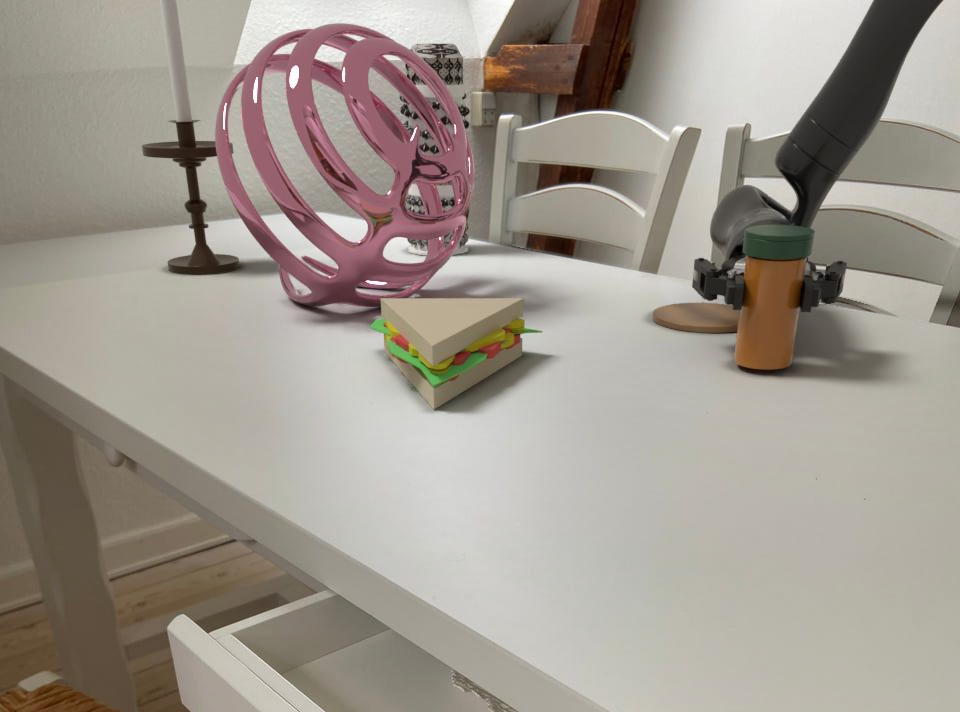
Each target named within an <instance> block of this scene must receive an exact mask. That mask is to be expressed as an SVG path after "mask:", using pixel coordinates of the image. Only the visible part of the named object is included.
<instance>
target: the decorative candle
mask: <svg viewBox="0 0 960 712" xmlns="http://www.w3.org/2000/svg"><path fill="white" fill-rule="evenodd" d="M409 49H410V50H411V51H413V52H414V53H416V54H417V55H418V56H419V57H421V58H422V59H423V60H424V61H425V62H426V63H427V64H428V65H430V67H431V68H432V69H433V70H434V71H435V72H436V73H437V74H438V75H439V77H440V78H441V79H442V81H443V82H444V83H445V85H446V86H447V88H448V89H449V91H450V93H451V94H452V96H453V98H454V100H455V102H456V104H457V106H458V109H459V111H460V114H461V117H462V120H463V123H464V127H465V129H466V130H467V129H468V128H469V127H470V121H468V120H467V119H466V117H467V116H468V115H469V114H470V108H468V106H466V105H463V101H464V100H465V99H466V98H467V94H466V93H465V84H464V59H466V57H464V56H463V55H462V53H461V52H460V50H459V48H458V46H457V45H456V44H454V43H414V44H413V45H412V46H411V47H410V48H409ZM404 69H405V71H404V72H405V75H406V76H407V77H408V78H409V79H410V80H411V82H412V83H413V84H414V85H415V86H416V87H417V88H418V89H419V91H420V92H421V93H422V94H423V95H424V97H425V98H426V99H427V101H428V102H429V103H430V105H431V106H432V108H433V109H434V111H435V112H436V114H437V115H438V117H439V118H440V120H441V122H442V123H443V124H444V125H445V126H446V128H447V129H448V130H449V132H450V133H451V135H452V136H453V137H454V130H453V125H452V123H451V121H450V119H449V117H448V115H447V114H446V112H445V110H444V108H443V107H442V105H441V104H440V102H439V101H438V99H437V98H436V96H435V95H434V94H433V92H432V91H431V90H430V88H429V87H428V86H427V85H426V84H425V82H424V81H423V80H422V79H421V78H420V77H419V76H418V75H417V74H416V73H415V72H414V71H413V70H412V69H411V68H410V67H409V66H408V65H407V64H406V63H405V62H404ZM399 100H400V101H401V102H402V103H404V104H403V105H401V106H400V110H399V112H400V114H401V115H403V116H404V117H406V118H407V119H405V121H404V122H402V124H403V125H404V126H405V128H406V129H407V130H408V132H409V133H410V135H411V134H412V132H413V129H414V127H415V125H416V124H418V125H419V128H420V136H419V149H420V150H421V152H422V154H423V155H427V156H440V155H441V153H440V151H439V149H438V147H437V145H436V143H435V141H434V139H433V137H432V135H431V134H430V132H429V130H428V129H427V127H426V126H425V124H424V123H423V121H422V120H421V118H420V117H419V115H418V114H417V113H416V111H415V110H414V109H413V108H412V106H411V105H410V104H409V103H408V102H407V100H406V99H405V98H404V97H403V96H402V95H401V94H400V93H399ZM436 186H437V189H438V192H439V196H440V200H441V204H442V210H443V212H446V211H448V210H450V209H451V208H453V207H454V206H455V200H454V194H453V188H452V184H451V180H450V181H449V182H446V183H443V184H438V185H436ZM406 204H408V205H410V206H409V208H407V209H408V210H409V211H411V212H413V213H418V214H425V215H426V213H425V209H424V205H423V202H422V198H421V195H420V193H419V190H418V187H417V185H416V183H413V184H412V185H411V187H410V188H409V191H408V195H407V197H406ZM468 230H469V223H468V222H467V224H466V227H465V231H464V233H463V236H462V238H461V240H460V243H459V245H458V246H457V248H456V250H455V252H454V253H453V255H452V256H456V255H461V254H465V253H466V252H468V251H469V248H468V245H467V244H466V243H468V242H469V235H468V233H467V231H468ZM453 231H454V230H453ZM453 231H452V232H450V233H449V234H447V235H445V236H444V244H443V250H444V249H445V248H446V246H447V245H448V243H449V241H450V239H451V237H452V234H453ZM406 240H407V242H408V243H409V244H410V246H408V252H409V253H411V254H413V255H419V256H426V255H427V250H428V240H414V239H408V238H406Z"/></svg>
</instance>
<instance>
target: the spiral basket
mask: <svg viewBox="0 0 960 712" xmlns="http://www.w3.org/2000/svg"><path fill="white" fill-rule="evenodd" d="M348 35H351V36H355V37H360V38H363V39H360V40H358V39H356V38H353V37H351V36H348ZM291 44H295V45H294V47H293V49H292V50H291V53H276V52H277V51H279V50H280V49H281V48H283V47H285V46H288V45H291ZM321 46H327V47H329V48H332V49H335V50H338V51H340V52H343V53H345V55H344V58H343V61H342V63H341V69H340V68H338V67H336V66H334V65H332V64H330V63H328V62H325V61H323V60H321V59H317V58H316V55H317V54H318V51H319V50H320V48H321ZM410 49H411V48H408V47H407V46H404V45H403V44H401V43H399V42H397V41H396V40H394V39H392V38H391V37H390V36H387V35H386V34H384V33H381V32H379V31H377V30H375V29H372V28H369V27H366V26H362V25H359V24H355V23H354V24H353V23H345V22H344V23H343V22H342V23H341V22H339V23H338V22H335V23H328V24H323V25H319V26H317V27H315V28H301V29H296V30H292V31H289V32H286V33H284V34H282V35H279V36H277V37H275V38H274V39H272V40H271V41H269V42H268V43H266V44H265V45H264V46H263V47H262V48H261V49H260V50H259V51H258V52H257V53H256V55H255V56H254V57H253V59H252V60H251V62H249V63H248V64H247V65H246V66H244V67H242V69H240V71H238V73H236V74H235V76H234V77H233V78H232V79H231V81H230V83H229V84H228V86H227V87H226V89H225V91H224V93H223V95H222V97H221V100H220V103H219V104H218V105H219V106H218V109H217V114H216V117H215V118H216V120H215V128H214V141H215V145H216V153H217V156H216V159H217V164H218V168H219V172H220V175H221V178H222V181H223V184H224V186H225V189H226V192H227V195H228V197H229V199H230V201H231V203H232V205H233V207H234V209H235V211H236V212H237V214H238V216H239V217H240V219H241V221H242V222H243V224H244V225H245V227H246V229H247V230H248V231H249V233H250V234H251V235H252V237H253V238H254V239H255V241H256V242H257V243H258V244H259V246H260V247H261V248H262V249H263V250H264V252H265V253H266V254H267V255H268V256H269V257H270V258H271V259H272V260H273V261H274V262H275V263H276V264H277V265H278V272H279V273H278V274H279V279H280V283H281V286H282V289H283V291H284V292H285V293H286V294H285V295H287V296H288V298H290V299H291V300H292V301H294V302H296V303H298V304H300V305H303V306H307V307H313V308H314V307H315V308H318V307H324V306H329V305H336V304H337V305H346V306H354V307H360V308H381V298H411V297H412V296H413V295H415V294H416V293H418V292H419V291H420V290H422V288H423V287H425V286H426V285H427V284H428V282H429V281H430V280H431V279H432V278H433V277H434V276H435V275H436V274H437V273H438V272H439V271H440V269H442V268H443V267H444V266H445V265H446V264H447V263H448V262H449V260H450V259H451V258H452V256H454V255H453V253H454V252H455V250H456V248H457V246H458V245H459V243H460V240H461V238H462V236H463V233H464V231H465V227H466V224H467V223H468V220H469V215H470V210H471V207H472V201H473V196H474V190H475V177H476V175H475V161H474V155H473V151H472V146H471V142H470V139H469V135H468V132H467V129H465V127H464V123H463V120H464V119H463V117H461V114H460V111H459V109H458V106H457V104H456V102H455V100H454V98H453V96H452V94H451V93H450V91H449V89H448V88H447V86H446V85H445V83H444V82H443V81H442V79H441V78H440V77H439V75H438V74H437V73H436V72H435V71H434V70H433V69H432V68H431V67H430V65H428V64H427V63H426V62H425V61H424V60H423V59H422V58H421V57H419V56H418V55H417V54H416V53H414V52H413V51H411V50H410ZM275 53H276V54H275ZM385 56H393V57H397V58H398V59H400V60H401V61H403V63H404V64H405V63H406V64H407V65H408V66H409V67H410V68H411V69H412V70H413V71H414V72H415V73H416V74H417V75H418V76H419V77H420V78H421V79H422V80H423V81H424V82H425V84H426V85H427V86H428V87H429V88H430V90H431V91H432V92H433V94H434V95H435V96H436V98H437V99H438V101H439V102H440V104H441V105H442V107H443V108H444V110H445V112H446V114H447V115H448V117H449V119H450V121H451V123H452V125H453V130H454V137H453V136H452V135H451V133H450V132H449V130H448V129H447V128H446V126H445V125H444V124H443V123H442V122H441V120H440V118H439V117H438V115H437V114H436V112H435V111H434V109H433V108H432V106H431V105H430V103H429V102H428V101H427V99H426V98H425V97H424V95H423V94H422V93H421V92H420V91H419V89H418V88H417V87H416V86H415V85H414V84H413V83H412V82H411V80H410V79H409V78H408V77H407V76H406V73H404V72H402V70H400V68H398V66H396V65H395V64H394V63H393V62H391V61H390V60H389V59H388V58H387V57H385ZM370 69H371V70H373V71H375V72H376V73H377V74H378V75H379V76H381V77H382V78H383V79H384V80H385V81H387V83H389V84H390V85H391V86H392V87H393V88H394V89H395V90H396V91H397V92H398V93H399V95H400V94H401V95H402V96H403V97H404V98H405V99H406V100H407V102H408V103H409V104H410V105H411V106H412V108H413V109H414V110H415V111H416V113H417V114H418V115H419V117H420V118H421V120H422V121H423V123H424V124H425V126H426V127H427V129H428V130H429V132H430V134H431V135H432V137H433V139H434V141H435V143H436V145H437V147H438V149H439V151H440V153H441V155H440V156H427V155H423V154H422V152H421V150H420V149H419V136H420V128H419V125H418V124H416V125H415V127H414V129H413V132H412V134H411V135H410V133H409V132H408V130H407V129H406V128H405V126H404V125H403V122H402V121H401V120H400V118H399V117H398V116H397V115H396V114H395V112H393V110H392V109H391V108H389V106H388V105H387V104H386V103H385V102H384V101H383V100H382V99H381V98H380V97H379V96H378V95H377V94H375V93H374V92H373V91H372V90H371V89H370V84H369V73H370ZM269 74H285V94H286V100H287V106H288V110H289V114H290V118H291V121H292V124H293V127H294V130H295V131H296V135H297V136H298V140H299V141H300V143H301V145H302V147H303V149H304V151H305V153H306V154H307V156H308V158H309V161H311V163H312V165H313V166H314V168H315V169H316V171H317V172H318V174H319V175H320V176H321V177H322V178H323V180H324V182H326V184H327V185H328V186H329V188H330V189H331V190H332V191H333V192H334V193H335V194H336V195H337V196H338V197H339V198H340V199H341V200H342V201H343V202H344V204H346V205H347V206H348V207H350V209H352V210H353V211H354V212H356V213H357V214H358V215H359V216H361V218H363V220H364V221H365V222H366V224H367V232H366V233H365V235H364V237H362V238H361V240H359V241H351V240H348V239H346V238H344V237H343V236H341V235H340V234H339V233H338V232H336V230H334V229H333V228H332V227H331V226H329V225H328V224H327V223H326V222H325V221H324V220H323V219H322V218H321V217H320V216H319V215H318V214H317V213H316V212H315V211H314V210H313V209H312V207H311V206H309V204H308V203H307V202H306V201H305V199H304V198H303V197H302V196H301V194H300V193H299V192H298V191H299V190H297V189H296V187H295V186H294V184H293V182H292V181H291V179H290V178H289V176H288V175H287V173H286V171H285V169H284V167H283V166H282V164H281V162H280V160H279V158H278V155H277V154H276V152H275V150H274V146H273V144H272V141H271V139H270V136H269V133H268V129H267V126H266V121H265V116H264V111H263V110H264V109H263V99H262V89H263V79H264V75H269ZM313 81H315V82H317V83H320V84H321V85H324V86H326V87H328V88H330V89H332V90H333V91H334V92H337V93H338V94H340V95H341V96H343V98H344V101H345V104H346V107H347V110H348V112H349V114H350V116H351V119H352V121H353V122H354V124H355V126H356V128H357V130H358V131H359V134H361V136H362V138H363V139H364V140H365V141H366V143H367V144H368V145H369V147H370V148H371V149H372V150H373V152H375V154H376V155H377V156H379V158H380V159H382V161H384V163H386V164H387V165H388V166H389V167H390V168H391V169H392V170H393V172H394V180H393V183H392V185H391V187H390V189H389V191H388V192H387V193H386V194H379V193H377V192H376V191H374V190H373V189H371V188H370V187H369V186H368V184H366V183H365V182H364V181H363V180H362V179H361V178H360V177H359V176H358V175H357V174H356V173H355V172H354V171H353V170H352V169H351V167H350V166H349V165H348V164H347V163H346V160H345V159H343V157H342V155H341V154H340V153H339V151H338V150H337V148H336V147H335V145H334V144H333V142H332V140H331V139H330V137H329V135H328V133H327V131H326V129H325V127H324V124H323V121H322V120H321V117H320V115H319V112H318V108H317V105H316V101H315V98H314V97H315V96H314V91H313ZM241 87H242V89H241V95H240V96H241V98H240V113H241V121H242V128H243V134H244V137H245V141H246V144H247V148H248V151H249V154H250V156H251V159H252V161H253V163H254V166H255V168H256V171H257V173H258V175H259V176H260V179H261V180H262V183H263V185H264V186H265V188H266V189H267V191H268V193H269V195H270V196H271V197H272V199H273V200H274V202H275V203H276V205H277V206H278V208H279V209H280V210H281V211H282V213H283V214H284V215H285V217H286V218H287V219H288V221H290V223H291V224H292V225H293V226H294V227H295V229H297V231H298V232H300V234H302V235H303V237H304V238H306V239H307V240H308V241H309V242H310V243H311V244H312V245H314V246H315V247H316V248H317V249H318V250H320V251H321V252H322V253H323V254H325V255H326V256H327V257H328V258H330V259H331V260H332V261H333V262H334V263H335V264H336V265H337V267H334V266H331V265H328V264H325V263H324V262H321V261H318V260H317V259H315V258H312V257H310V256H308V255H301V259H302V260H303V261H301V259H299V258H298V257H297V256H296V255H295V254H294V253H293V252H292V251H290V249H289V248H288V247H286V246H285V244H283V242H282V241H280V240H279V238H278V237H277V236H276V235H275V233H274V232H273V231H272V230H271V228H270V227H269V226H268V225H267V224H266V222H265V221H264V220H263V218H262V217H261V215H260V213H259V212H258V210H257V209H256V208H255V206H254V204H253V202H252V201H251V199H250V197H249V195H248V193H247V191H246V189H245V187H244V185H243V183H242V180H241V178H240V176H239V173H238V169H237V167H236V165H235V164H236V163H235V161H234V157H233V154H232V153H231V148H230V143H231V142H230V136H229V116H230V111H231V110H230V109H231V105H232V103H233V99H234V97H235V95H236V93H237V92H238V91H239V89H240V88H241ZM462 119H463V120H462ZM229 142H230V143H229ZM450 180H451V184H452V188H453V194H454V200H455V206H454V207H453V208H451V209H450V210H448V211H446V212H443V210H442V204H441V200H440V196H439V192H438V189H437V186H436V185H438V184H443V183H446V182H449V181H450ZM413 183H416V185H417V187H418V190H419V193H420V195H421V198H422V202H423V205H424V209H425V213H426V215H425V214H418V213H413V212H411V211H409V210H408V209H409V208H408V207H407V202H406V198H407V197H408V194H409V188H410V187H411V185H412V184H413ZM453 230H454V231H453ZM452 231H453V234H452V237H451V239H450V241H449V243H448V245H447V246H446V248H445V249H444V250H443V244H444V236H445V235H447V234H449V233H450V232H452ZM395 238H403V239H404V238H405V239H407V238H408V239H414V240H428V250H427V255H425V258H424V260H423V261H421V262H414V263H411V262H410V263H409V262H407V263H406V262H397V261H392V260H389V259H388V258H387V259H386V257H385V256H384V250H385V248H386V247H387V244H388V243H389V242H390V241H391V240H393V239H395ZM304 262H305V263H306V264H305V263H304ZM308 265H309V266H310V267H309V266H308ZM311 267H312V268H313V269H312V268H311ZM314 269H315V270H317V271H319V272H321V273H323V274H324V275H323V274H321V273H319V272H317V271H315V270H314ZM290 276H291V277H293V278H294V279H295V280H296V281H298V282H299V283H301V284H302V285H304V286H305V287H306V288H308V290H309V291H310V293H307V294H301V293H300V292H299V291H298V290H297V289H296V288H295V286H294V284H293V282H292V280H291V278H290ZM408 286H409V287H408ZM357 287H361V288H366V289H375V290H391V289H401V288H405V287H407V288H406V289H404V290H401V291H398V292H396V293H391V294H370V293H366V292H362V291H358V290H357V289H356V288H357Z"/></svg>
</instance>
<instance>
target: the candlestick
mask: <svg viewBox="0 0 960 712" xmlns="http://www.w3.org/2000/svg"><path fill="white" fill-rule="evenodd" d="M159 7H160V14H161V21H162V29H163V35H164V42H165V50H166V56H167V64H168V72H169V79H170V85H171V92H172V99H173V107H174V114H175V119H173V120H172V119H171V120H167V122H169V123H174V124H175V128H176V135H177V141H160V142H149V143H145V144H142V145H141V149H142V155H143V157H147V158H154V159H155V158H156V159H158V158H159V159H171V160H172V162H174V163H177V164H178V166H179V167H180V168H182V169H184V170H185V177H186V184H187V191H188V200H187V201H185V203H184V208H185V210H186V212H187V213H189V214H190V218H191V223H189V224H188V228H189V229H191V230H193V234H194V235H193V236H194V241H195V242H194V243H195V245H194V247H193V249H192V252H191V253H190V254H189V255H182V256H177V257H173V258H170V259H169V260H168V261H167V269H168V271H170V273H175V274H181V275H212V274H213V275H214V274H221V273H226V272H232V271H235V270H238V269H239V268H240V266H241V265H240V258H239V257H238V256H235V255H232V254H223V253H222V254H221V253H214V251H213V250H212V249H211V248H210V245H208V244H207V237H206V229H209V224H208V223H205V218H204V217H205V216H204V213H207V208H208V203H207V202H206V201H205V200H203V199H201V193H200V192H201V191H200V186H199V178H198V172H197V168H199V167H202V163H204V162H206V161H207V159H208V158H217V153H216V145H215V140H196V133H195V125H194V124H195V123H198V122H201V121H202V120H201V119H193V116H192V110H191V109H192V108H191V102H190V101H191V100H190V94H189V87H188V79H187V72H186V65H185V57H184V50H183V41H182V34H181V26H180V18H179V12H178V3H177V0H159ZM229 143H230V148H231V153H232V155H233V154H234V153H235V151H234V143H233V142H230V141H229Z"/></svg>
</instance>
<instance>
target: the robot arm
mask: <svg viewBox="0 0 960 712" xmlns="http://www.w3.org/2000/svg"><path fill="white" fill-rule="evenodd" d="M943 2H944V0H872V2H871V4H870V6H869V8H868V10H867V12H866V13H865V15H864V16H863V19H862V20H861V22H860V24H859V25H858V28H857V29H856V32H855V33H854V35H853V37H852V39H851V41H850V42H849V44H848V46H847V47H846V49H845V51H844V53H843V54H842V56H841V57H840V59H839V61H838V62H837V64H836V66H835V67H834V69H833V70H832V72H831V74H830V75H829V76H828V78H827V79H826V81H825V83H824V84H823V85H822V87H821V88H820V90H819V92H818V93H817V95H816V96H815V97H814V99H813V100H812V101H811V103H810V104H809V106H808V107H807V108H806V110H805V111H804V113H803V114H802V115H801V117H800V118H799V119H798V121H796V124H795V125H794V127H792V129H791V131H790V132H789V135H787V137H785V139H784V140H783V142H782V144H781V145H780V146H779V148H778V149H777V151H776V153H775V155H774V159H773V160H774V166H775V168H776V170H777V172H778V173H779V174H780V175H781V176H782V178H783V179H784V180H785V181H786V182H787V183H788V185H789V186H790V187H791V189H792V190H793V191H794V193H795V197H796V201H795V204H794V206H793V208H792V210H790V209H788V208H787V207H785V205H783V204H781V203H780V202H778V201H777V200H776V199H774V198H773V197H771V196H770V195H769V194H768V193H766V192H765V191H763V190H762V189H760V188H759V187H756V186H755V185H752V184H742V185H739V186H737V187H735V188H733V189H731V190H730V191H729V192H727V193H726V194H725V195H724V196H723V197H722V199H721V200H720V201H719V203H718V204H717V206H716V207H715V210H714V212H713V214H712V218H711V220H710V226H709V235H710V240H711V242H712V245H714V247H715V248H717V250H718V251H720V253H721V254H722V255H724V261H723V263H721V266H716V262H715V261H710V260H709V259H707V258H705V257H698V258H695V259H694V263H693V272H692V273H693V274H692V283H691V287H692V288H693V290H694V291H696V293H697V294H698V295H699V296H701V298H702V299H703V300H706V301H709V302H712V301H714V300H718V296H721V297H723V301H724V304H726V305H733V310H741V308H742V300H743V291H744V278H743V276H744V268H745V259H746V254H744V253H743V243H744V235H745V229H746V228H748V227H752V226H759V225H793V226H801V227H807V228H810V229H812V225H813V223H814V221H815V219H816V217H817V214H818V212H819V211H820V209H821V207H822V205H823V203H824V201H825V199H826V198H827V196H828V194H829V193H830V191H831V190H832V188H833V187H834V186H835V184H836V183H837V181H838V180H839V178H840V177H841V175H843V173H844V172H845V170H846V169H847V168H848V166H849V165H850V163H852V161H853V160H854V158H855V157H856V156H857V154H858V153H859V152H860V151H861V149H863V147H864V146H865V145H866V143H867V141H868V140H869V138H871V136H872V134H873V133H874V131H875V129H876V128H877V126H878V124H879V122H880V121H881V119H882V116H883V115H884V113H885V111H886V108H887V106H888V104H889V102H890V99H891V96H892V93H893V92H894V88H895V86H896V83H897V80H898V78H899V75H900V73H901V70H902V68H903V66H904V63H905V61H906V59H907V56H908V55H909V52H910V51H911V49H912V48H913V46H914V42H915V41H916V39H917V38H918V36H919V35H920V32H921V31H922V29H923V28H924V27H925V25H926V24H927V22H928V20H929V19H930V18H931V16H932V15H933V14H934V12H935V11H936V10H937V8H939V6H940V5H941V4H942V3H943ZM847 267H848V263H847V262H846V261H844V260H837V261H833V262H832V263H827V264H825V269H819V268H817V265H816V263H814V262H813V261H810V260H809V256H807V261H806V268H805V274H804V281H803V288H802V295H801V302H800V309H799V310H800V312H801V313H811V312H812V308H818V307H819V306H820V302H821V303H823V304H825V305H831V304H835V303H836V302H838V301H837V300H838V299H839V297H840V296H841V294H842V293H843V291H844V284H845V277H846V273H847ZM820 300H821V301H820Z"/></svg>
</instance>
